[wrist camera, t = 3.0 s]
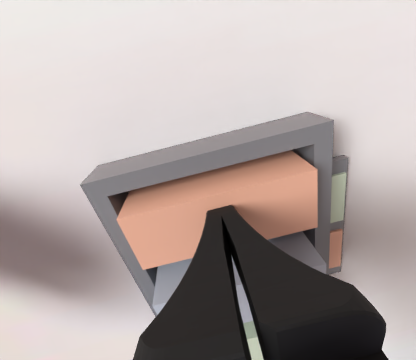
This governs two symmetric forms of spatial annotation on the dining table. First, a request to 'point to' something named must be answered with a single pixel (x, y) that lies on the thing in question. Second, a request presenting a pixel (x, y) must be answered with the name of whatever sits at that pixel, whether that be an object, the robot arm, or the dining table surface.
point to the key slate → (290, 244)
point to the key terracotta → (220, 205)
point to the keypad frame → (209, 160)
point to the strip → (337, 211)
